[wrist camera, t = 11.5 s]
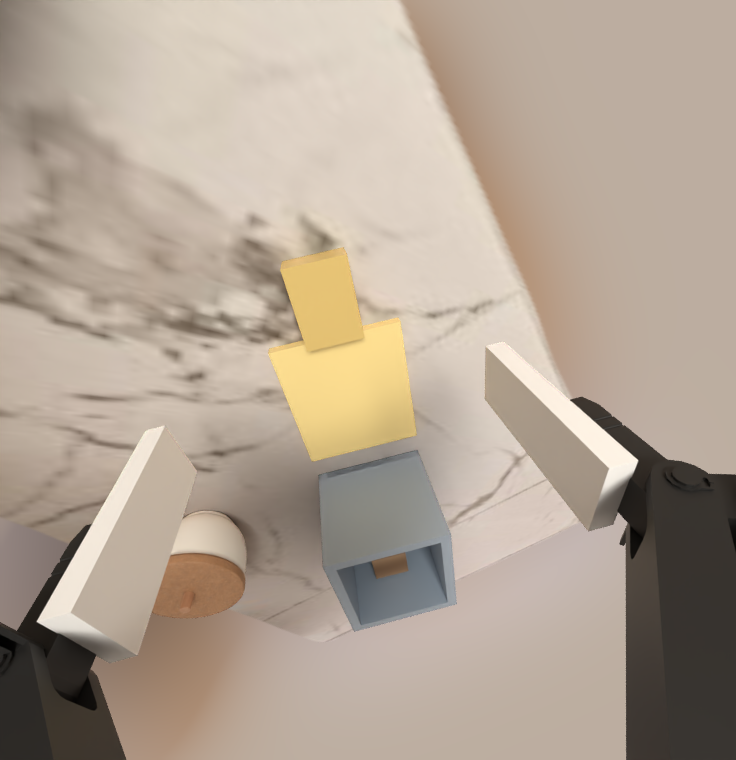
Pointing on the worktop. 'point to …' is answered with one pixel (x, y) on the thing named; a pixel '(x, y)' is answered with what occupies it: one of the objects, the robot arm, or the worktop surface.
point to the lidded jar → (203, 568)
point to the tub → (385, 540)
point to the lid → (341, 363)
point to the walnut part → (390, 565)
